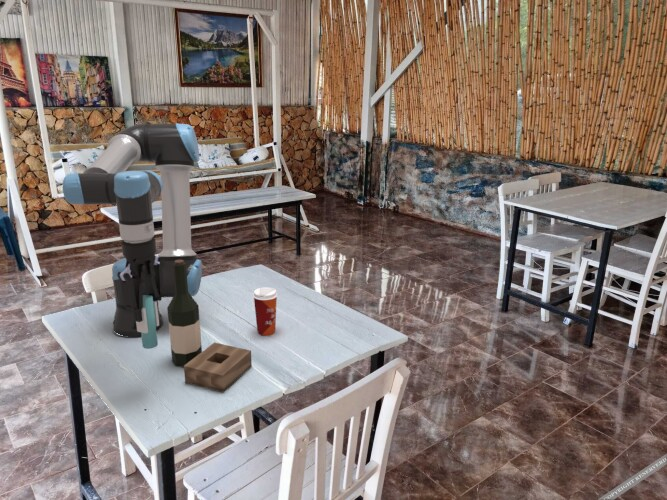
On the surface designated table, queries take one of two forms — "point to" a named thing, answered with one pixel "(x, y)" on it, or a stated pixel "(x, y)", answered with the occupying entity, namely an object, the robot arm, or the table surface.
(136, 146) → the robot arm
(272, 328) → the paper cup
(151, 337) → the pin
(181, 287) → the wine bottle
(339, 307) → the table surface
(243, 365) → the bore block
